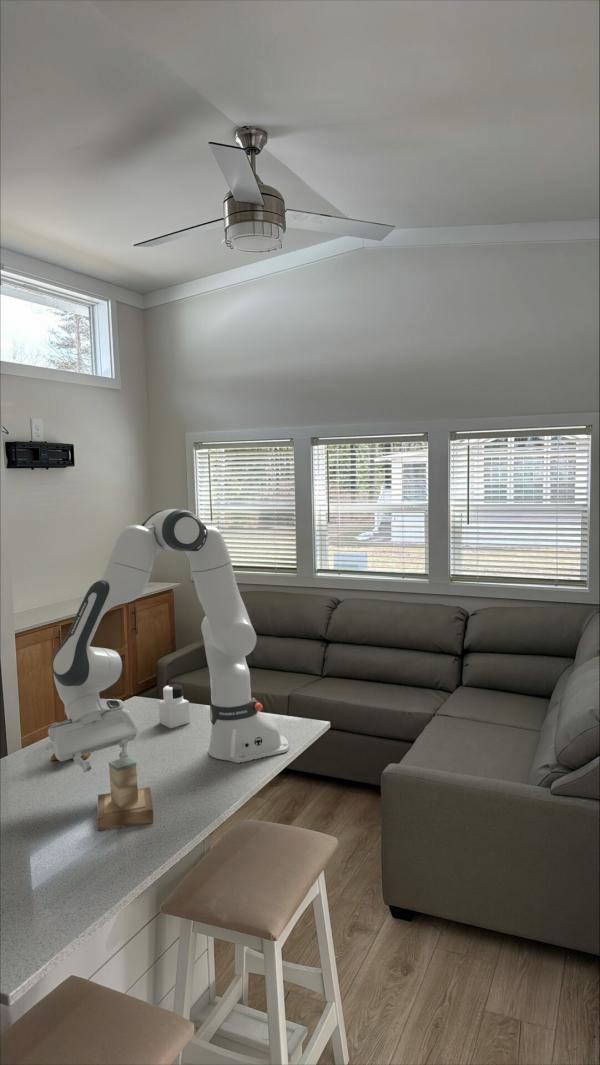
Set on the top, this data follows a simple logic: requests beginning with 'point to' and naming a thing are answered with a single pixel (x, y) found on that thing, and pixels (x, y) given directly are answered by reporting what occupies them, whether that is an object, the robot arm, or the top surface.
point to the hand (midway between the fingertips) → (106, 764)
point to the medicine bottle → (174, 707)
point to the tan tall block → (123, 781)
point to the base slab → (124, 811)
